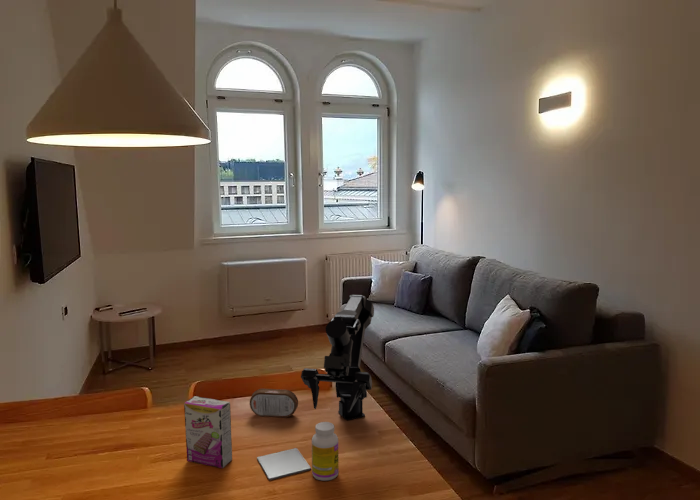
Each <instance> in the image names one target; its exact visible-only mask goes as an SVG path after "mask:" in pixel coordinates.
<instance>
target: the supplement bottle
mask: <svg viewBox="0 0 700 500" xmlns="http://www.w3.org/2000/svg"><path fill="white" fill-rule="evenodd" d="M314 431H315V433H314V434H313V435H312V438H311V473H312V476H313V477H314V479H316V480H318V481H323V482H324V481H325V482H327V481H332V480H335V478H336V477H338V475H339V472H340V471H339V467H340V466H339V465H340V464H339V459H340V458H339V438H338V435H337V433H335V425H334V423H332V422H329V421H320V422H318V423H316V424H315V430H314Z"/></svg>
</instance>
